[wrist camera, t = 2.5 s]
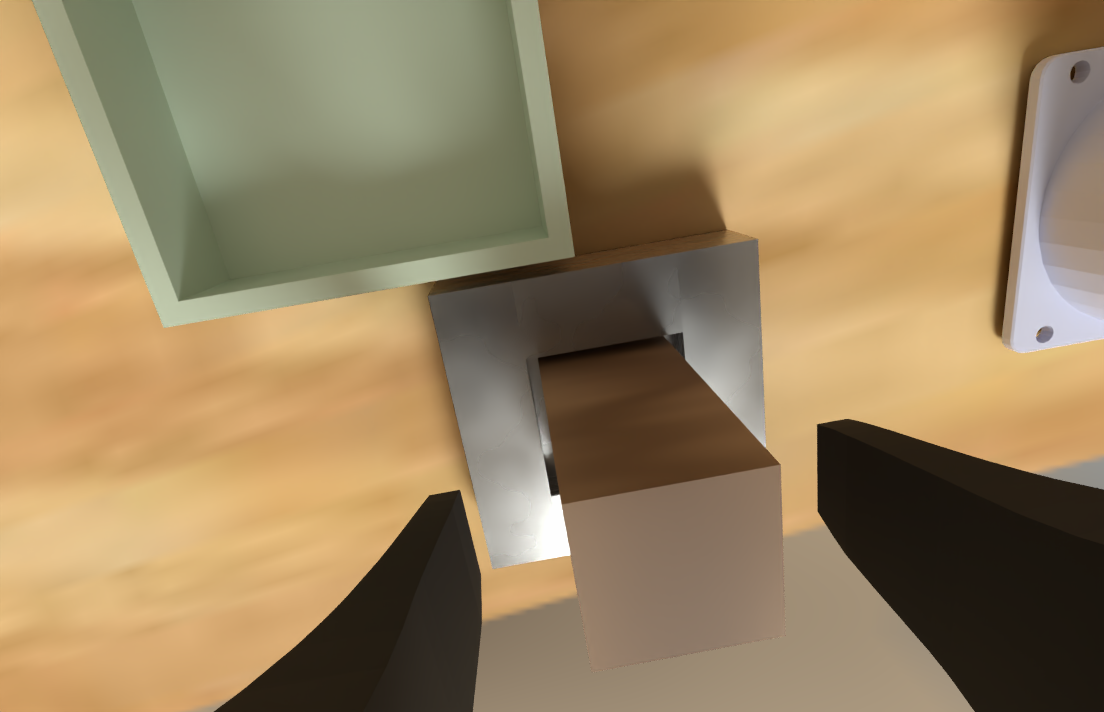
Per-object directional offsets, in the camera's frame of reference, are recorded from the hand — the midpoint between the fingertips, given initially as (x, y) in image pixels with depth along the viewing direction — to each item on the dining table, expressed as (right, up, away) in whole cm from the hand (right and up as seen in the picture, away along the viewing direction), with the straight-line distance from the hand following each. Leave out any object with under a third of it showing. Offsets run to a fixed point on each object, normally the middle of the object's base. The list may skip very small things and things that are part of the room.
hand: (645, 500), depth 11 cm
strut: (0, +2, +5) cm, 5 cm away
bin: (-7, +9, +2) cm, 12 cm away
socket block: (0, +2, +5) cm, 6 cm away
